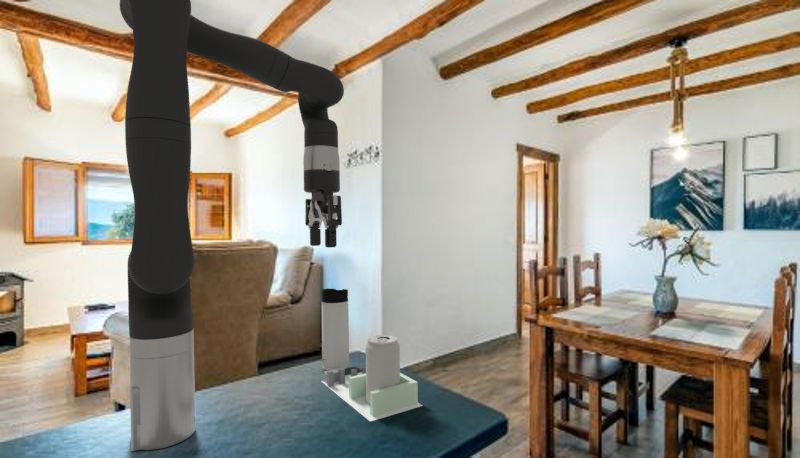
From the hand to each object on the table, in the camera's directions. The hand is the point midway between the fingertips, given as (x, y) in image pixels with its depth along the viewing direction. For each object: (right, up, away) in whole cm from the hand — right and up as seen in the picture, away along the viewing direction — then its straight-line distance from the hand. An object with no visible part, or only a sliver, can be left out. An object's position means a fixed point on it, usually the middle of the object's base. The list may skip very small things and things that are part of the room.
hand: (322, 246), depth 88 cm
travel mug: (+1, -30, +10) cm, 32 cm away
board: (+10, -30, -5) cm, 32 cm away
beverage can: (+13, -29, -10) cm, 33 cm away
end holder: (+13, -29, -9) cm, 33 cm away
